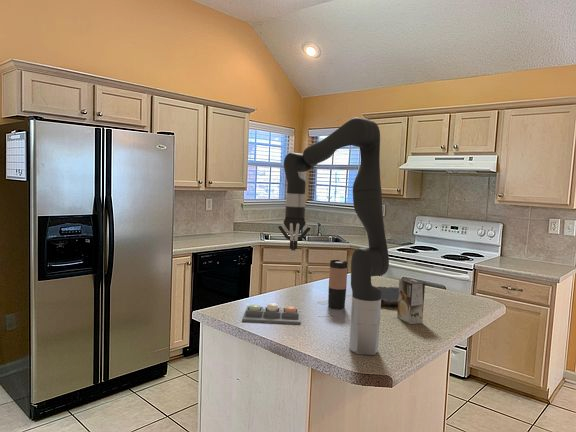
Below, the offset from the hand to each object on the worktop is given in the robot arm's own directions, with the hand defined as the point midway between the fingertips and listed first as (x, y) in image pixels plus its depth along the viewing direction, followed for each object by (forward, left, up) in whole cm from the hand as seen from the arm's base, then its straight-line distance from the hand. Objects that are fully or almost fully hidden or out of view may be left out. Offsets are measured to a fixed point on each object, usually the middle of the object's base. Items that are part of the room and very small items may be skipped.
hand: (293, 250), depth 166 cm
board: (+32, -45, -27) cm, 62 cm away
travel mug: (+19, -20, -27) cm, 39 cm away
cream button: (0, +7, -24) cm, 25 cm away
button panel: (0, +7, -27) cm, 28 cm away
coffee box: (+5, -48, -27) cm, 55 cm away
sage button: (0, +14, -25) cm, 29 cm away
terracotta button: (0, 0, -25) cm, 25 cm away
